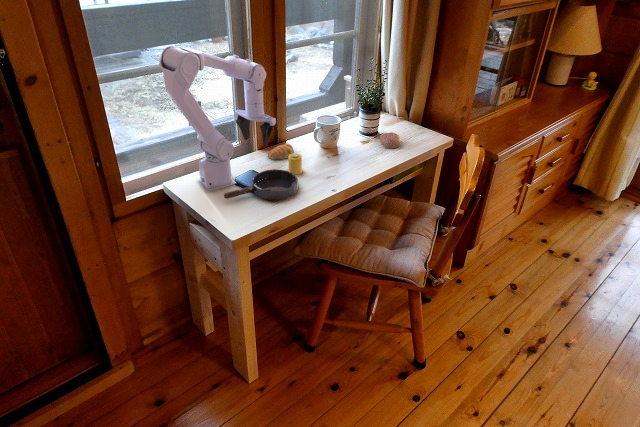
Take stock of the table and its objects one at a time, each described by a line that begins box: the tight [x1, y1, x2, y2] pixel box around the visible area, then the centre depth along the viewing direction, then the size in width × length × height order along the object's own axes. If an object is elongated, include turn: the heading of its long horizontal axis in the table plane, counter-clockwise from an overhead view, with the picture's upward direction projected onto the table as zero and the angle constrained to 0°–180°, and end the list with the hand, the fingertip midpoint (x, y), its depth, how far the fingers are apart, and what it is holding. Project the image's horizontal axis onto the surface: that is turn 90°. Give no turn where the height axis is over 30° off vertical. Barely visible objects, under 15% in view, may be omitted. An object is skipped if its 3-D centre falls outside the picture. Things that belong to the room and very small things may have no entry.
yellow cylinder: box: [287, 152, 303, 176], centre depth 156 cm, size 4×4×7 cm
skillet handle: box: [223, 185, 256, 200], centre depth 141 cm, size 11×2×2 cm, turn 122°
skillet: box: [251, 168, 299, 202], centre depth 147 cm, size 14×14×4 cm
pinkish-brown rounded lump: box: [379, 132, 402, 149], centre depth 178 cm, size 8×6×8 cm
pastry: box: [267, 143, 296, 161], centre depth 167 cm, size 9×7×4 cm
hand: (256, 141), depth 156 cm, fingers open, 7 cm apart
